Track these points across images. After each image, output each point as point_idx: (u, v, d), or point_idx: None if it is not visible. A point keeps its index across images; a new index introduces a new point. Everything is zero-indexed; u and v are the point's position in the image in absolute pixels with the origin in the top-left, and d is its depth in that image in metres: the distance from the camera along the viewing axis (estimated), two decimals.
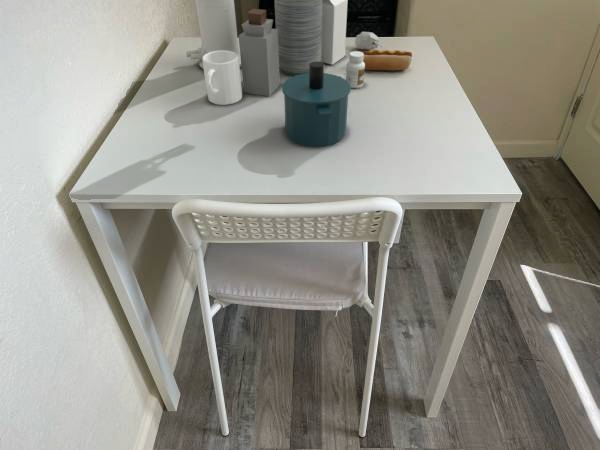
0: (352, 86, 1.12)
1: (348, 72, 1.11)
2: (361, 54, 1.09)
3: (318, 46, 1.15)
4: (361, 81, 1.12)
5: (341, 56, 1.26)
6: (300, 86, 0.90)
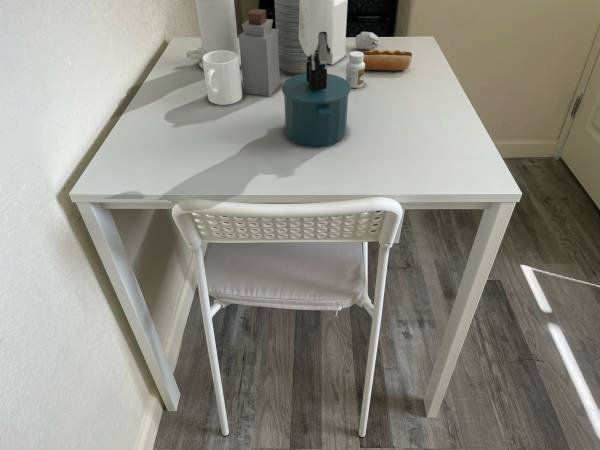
0: (352, 86, 1.12)
1: (348, 72, 1.11)
2: (361, 54, 1.09)
3: None
4: (361, 81, 1.12)
5: (341, 56, 1.26)
6: (300, 86, 0.90)
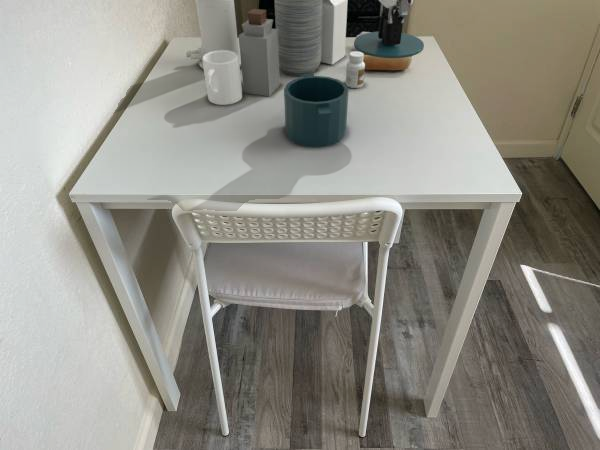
0: (352, 86, 1.12)
1: (348, 72, 1.11)
2: (361, 54, 1.09)
3: (318, 46, 1.15)
4: (361, 81, 1.12)
5: (341, 56, 1.26)
6: (372, 42, 0.90)
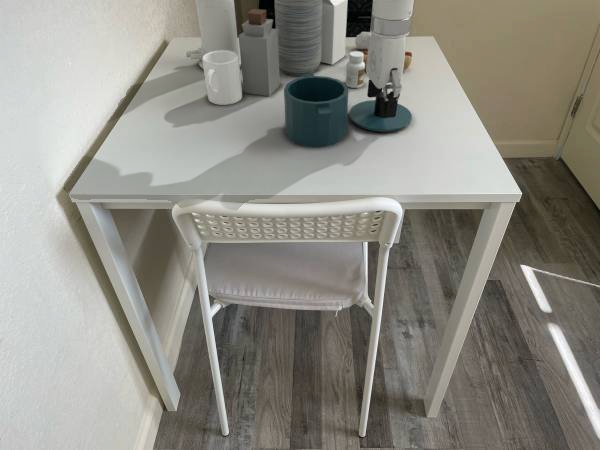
0: (352, 86, 1.12)
1: (348, 72, 1.11)
2: (361, 54, 1.09)
3: (318, 46, 1.15)
4: (361, 81, 1.12)
5: (341, 56, 1.26)
6: (366, 113, 1.00)
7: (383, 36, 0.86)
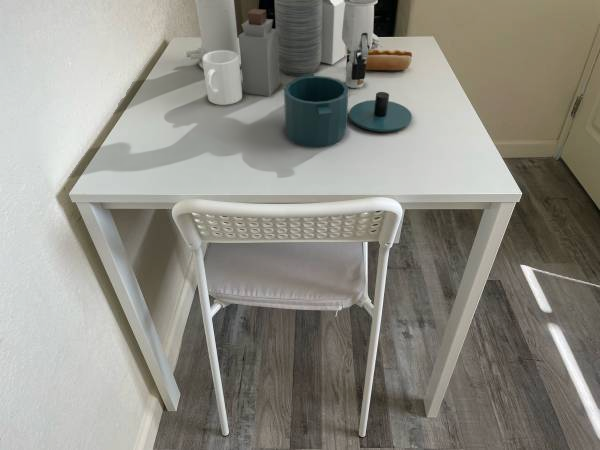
0: (352, 86, 1.12)
1: (348, 72, 1.11)
2: None
3: (318, 46, 1.15)
4: (361, 81, 1.12)
5: (341, 56, 1.26)
6: (366, 113, 1.00)
7: (354, 4, 0.99)
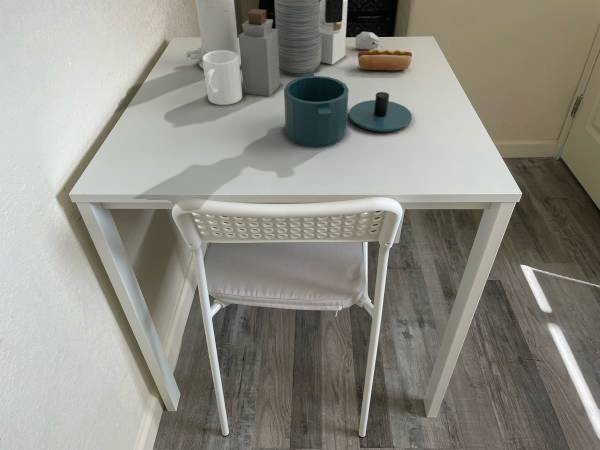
0: (327, 32, 0.87)
1: (321, 13, 0.86)
2: None
3: (318, 46, 1.15)
4: (338, 25, 0.87)
5: (341, 56, 1.26)
6: (366, 113, 1.00)
7: None
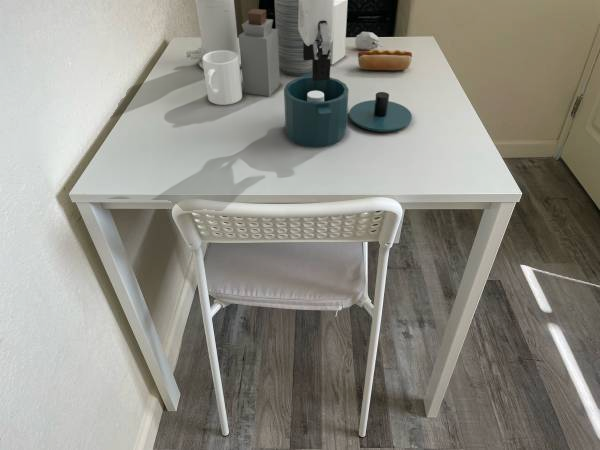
0: None
1: None
2: (321, 95, 0.91)
3: None
4: None
5: (341, 56, 1.26)
6: (366, 113, 1.00)
7: None
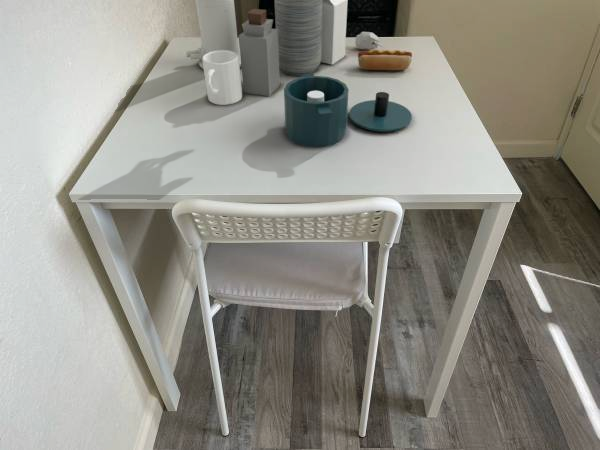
0: None
1: None
2: (321, 95, 0.91)
3: (318, 46, 1.15)
4: None
5: (341, 56, 1.26)
6: (366, 113, 1.00)
7: None
